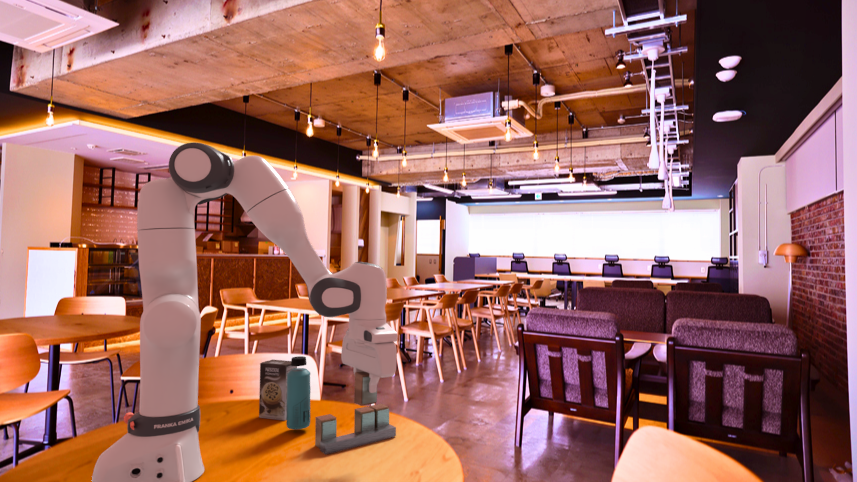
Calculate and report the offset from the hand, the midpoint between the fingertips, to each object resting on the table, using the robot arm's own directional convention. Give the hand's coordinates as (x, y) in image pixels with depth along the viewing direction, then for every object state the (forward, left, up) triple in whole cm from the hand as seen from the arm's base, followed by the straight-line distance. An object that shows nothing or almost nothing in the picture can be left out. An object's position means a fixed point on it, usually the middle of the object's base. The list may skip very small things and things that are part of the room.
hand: (366, 389), depth 112 cm
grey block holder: (+3, +11, -16) cm, 20 cm away
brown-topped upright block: (0, 0, -3) cm, 3 cm away
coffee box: (-6, +43, -16) cm, 46 cm away
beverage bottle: (-6, +27, -16) cm, 32 cm away
